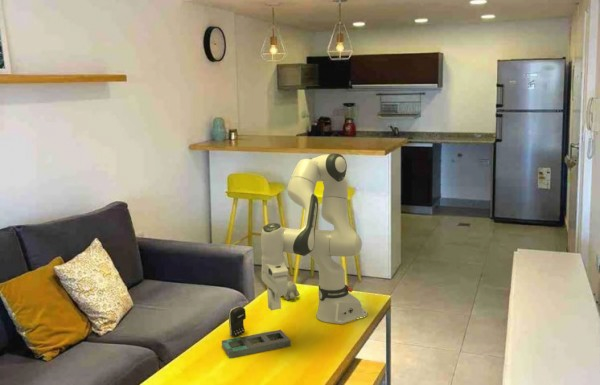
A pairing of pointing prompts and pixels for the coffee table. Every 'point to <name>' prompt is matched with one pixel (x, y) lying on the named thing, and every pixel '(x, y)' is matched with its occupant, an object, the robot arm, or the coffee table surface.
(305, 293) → the coffee table surface
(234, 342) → the grey slotted board
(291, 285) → the toy rhinoceros
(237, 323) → the battery charger
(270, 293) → the steel block
